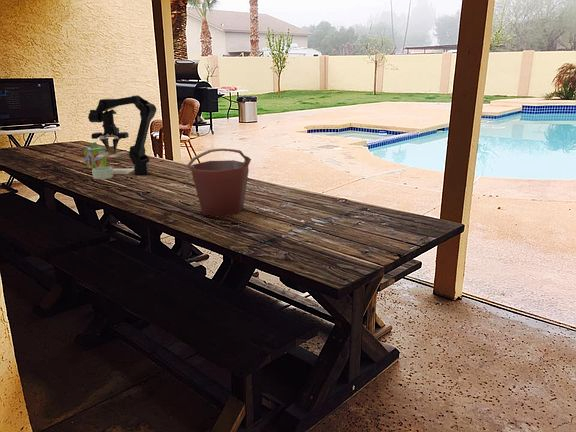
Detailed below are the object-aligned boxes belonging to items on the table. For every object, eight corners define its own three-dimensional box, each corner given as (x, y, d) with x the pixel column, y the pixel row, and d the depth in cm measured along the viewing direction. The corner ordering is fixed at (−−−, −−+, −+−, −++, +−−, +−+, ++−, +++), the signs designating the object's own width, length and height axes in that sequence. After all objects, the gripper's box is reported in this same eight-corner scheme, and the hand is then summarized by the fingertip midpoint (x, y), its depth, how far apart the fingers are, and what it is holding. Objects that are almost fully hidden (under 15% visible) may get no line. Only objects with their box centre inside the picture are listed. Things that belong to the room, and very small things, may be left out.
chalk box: (94, 169, 282) (90, 144, 277) (85, 168, 287) (82, 143, 283) (108, 167, 289) (105, 142, 284) (99, 165, 294) (96, 141, 290)
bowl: (115, 175, 265) (114, 166, 263) (109, 179, 255) (107, 170, 254) (97, 175, 265) (96, 166, 263) (90, 179, 255) (89, 170, 254)
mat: (136, 169, 281) (136, 168, 281) (127, 174, 267) (127, 173, 267) (110, 169, 282) (110, 168, 281) (100, 174, 267) (100, 174, 267)
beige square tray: (128, 153, 273) (127, 144, 272) (119, 157, 261) (118, 148, 260) (106, 153, 274) (104, 145, 273) (96, 157, 262) (94, 148, 260)
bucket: (253, 203, 205) (251, 144, 198) (251, 218, 184) (248, 153, 177) (195, 204, 204) (191, 145, 197) (187, 220, 183) (181, 154, 176)
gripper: (130, 120, 270) (133, 148, 274) (97, 121, 271) (101, 149, 275) (123, 122, 259) (126, 151, 263) (89, 123, 260) (93, 152, 264)
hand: (112, 151), depth 267 cm, fingers closed on beige square tray, 3 cm apart
